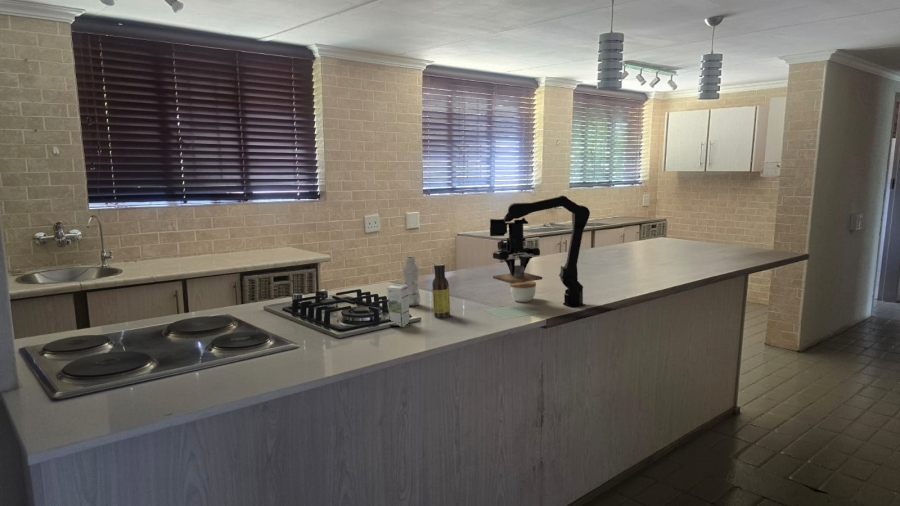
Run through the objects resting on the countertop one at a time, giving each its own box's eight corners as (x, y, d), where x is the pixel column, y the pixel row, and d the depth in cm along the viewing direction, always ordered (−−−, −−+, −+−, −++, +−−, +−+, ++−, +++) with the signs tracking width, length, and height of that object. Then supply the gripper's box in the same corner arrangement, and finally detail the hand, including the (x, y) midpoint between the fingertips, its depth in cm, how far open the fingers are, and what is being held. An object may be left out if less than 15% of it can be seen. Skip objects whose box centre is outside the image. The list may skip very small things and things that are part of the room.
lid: (522, 274, 237) (522, 262, 236) (542, 279, 225) (541, 266, 224) (492, 278, 231) (492, 266, 230) (511, 283, 219) (511, 270, 218)
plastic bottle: (418, 307, 234) (416, 258, 231) (402, 307, 235) (400, 258, 232) (422, 303, 240) (420, 256, 237) (406, 303, 241) (404, 256, 239)
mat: (518, 305, 231) (518, 304, 231) (540, 314, 216) (540, 313, 216) (482, 311, 224) (482, 310, 224) (503, 320, 210) (503, 319, 210)
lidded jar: (535, 298, 243) (535, 276, 242) (536, 304, 233) (536, 281, 231) (510, 298, 244) (509, 276, 243) (510, 304, 234) (509, 281, 232)
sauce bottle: (453, 316, 217) (451, 264, 214) (439, 319, 214) (437, 266, 211) (444, 313, 222) (442, 262, 220) (430, 316, 219) (428, 264, 216)
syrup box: (410, 323, 209) (408, 284, 207) (402, 327, 204) (400, 287, 202) (396, 322, 212) (395, 283, 210) (388, 326, 207) (386, 286, 204)
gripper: (524, 232, 237) (525, 269, 239) (485, 235, 229) (486, 274, 231) (540, 234, 227) (541, 273, 229) (499, 238, 219) (500, 278, 221)
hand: (517, 274), depth 228 cm, fingers closed on lid, 4 cm apart
